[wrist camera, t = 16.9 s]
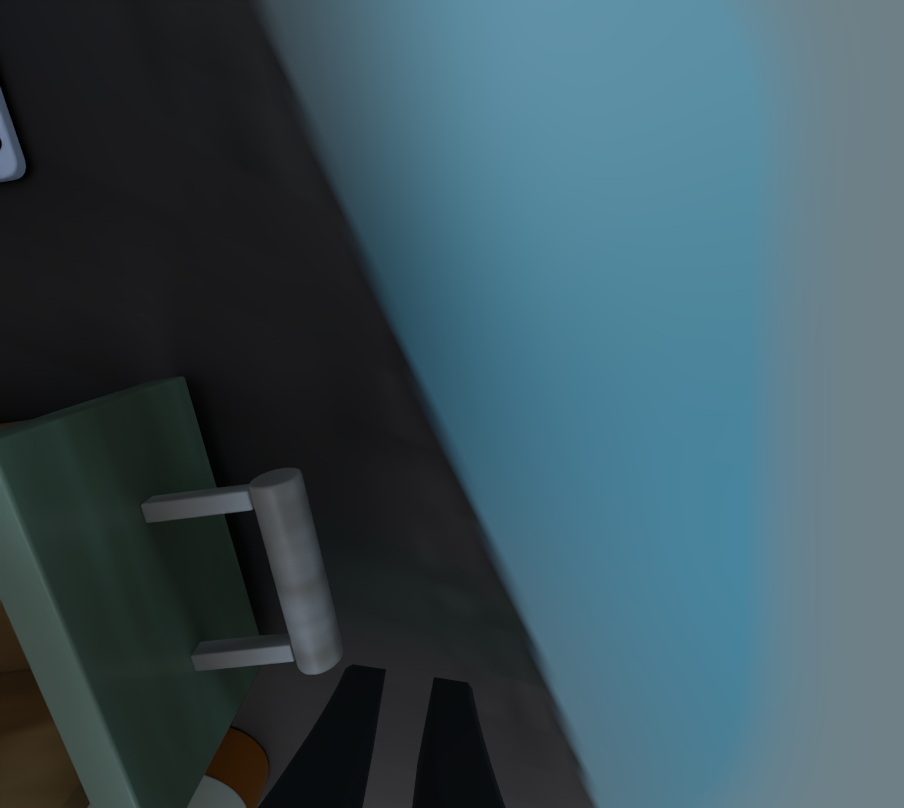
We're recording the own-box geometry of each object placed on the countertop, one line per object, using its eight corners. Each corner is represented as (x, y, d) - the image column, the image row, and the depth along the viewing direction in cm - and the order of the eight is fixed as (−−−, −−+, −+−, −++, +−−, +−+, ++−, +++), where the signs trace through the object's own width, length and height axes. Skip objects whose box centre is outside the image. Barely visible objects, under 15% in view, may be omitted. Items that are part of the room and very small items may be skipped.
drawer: (316, 356, 16) (208, 412, 9) (379, 645, 18) (331, 849, 12) (-156, 423, 17) (-561, 518, 10) (-28, 687, 19) (-279, 895, 13)
